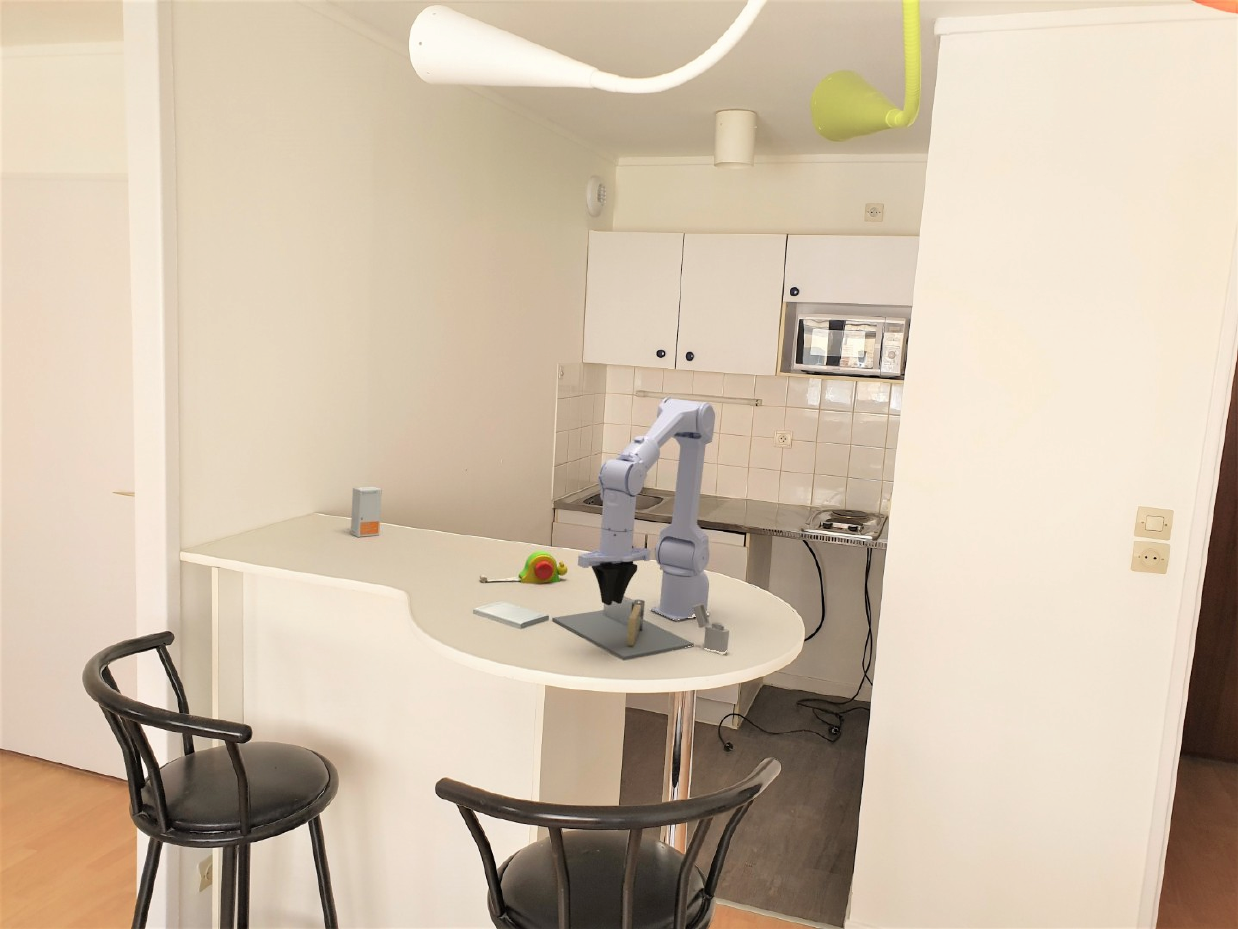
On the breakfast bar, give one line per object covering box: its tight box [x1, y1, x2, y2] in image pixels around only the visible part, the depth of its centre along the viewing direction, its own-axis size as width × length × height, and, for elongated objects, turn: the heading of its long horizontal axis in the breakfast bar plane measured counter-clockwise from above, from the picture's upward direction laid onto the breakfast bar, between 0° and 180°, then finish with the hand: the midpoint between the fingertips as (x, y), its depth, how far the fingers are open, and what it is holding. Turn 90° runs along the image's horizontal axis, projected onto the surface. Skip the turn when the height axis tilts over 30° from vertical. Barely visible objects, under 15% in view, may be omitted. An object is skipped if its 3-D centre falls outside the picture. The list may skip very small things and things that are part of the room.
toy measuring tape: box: [479, 550, 568, 584], centre depth 205 cm, size 6×19×7 cm, turn 108°
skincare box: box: [350, 486, 383, 538], centre depth 235 cm, size 6×4×12 cm
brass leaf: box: [627, 599, 646, 646], centre depth 171 cm, size 11×2×5 cm, turn 172°
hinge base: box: [551, 595, 694, 661], centre depth 175 cm, size 16×23×6 cm
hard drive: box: [472, 600, 550, 630], centre depth 180 cm, size 2×8×12 cm
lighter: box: [693, 603, 730, 652], centre depth 170 cm, size 7×2×8 cm, turn 54°
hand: (611, 602), depth 166 cm, fingers closed
